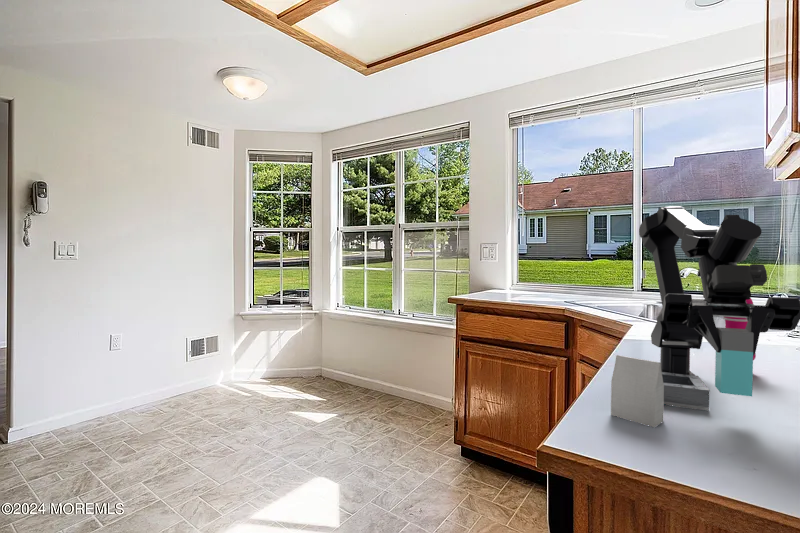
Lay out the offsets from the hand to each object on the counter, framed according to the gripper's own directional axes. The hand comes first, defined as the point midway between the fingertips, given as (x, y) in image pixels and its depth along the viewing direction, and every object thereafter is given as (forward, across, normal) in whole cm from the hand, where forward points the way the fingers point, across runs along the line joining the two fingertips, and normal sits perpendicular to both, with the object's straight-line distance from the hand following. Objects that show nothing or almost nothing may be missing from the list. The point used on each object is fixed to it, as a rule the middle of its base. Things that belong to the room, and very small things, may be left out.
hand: (736, 352), depth 68 cm
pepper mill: (-19, +9, +36) cm, 42 cm away
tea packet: (+11, -14, +6) cm, 19 cm away
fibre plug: (+4, 0, +6) cm, 7 cm away
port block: (+1, -7, +16) cm, 17 cm away
